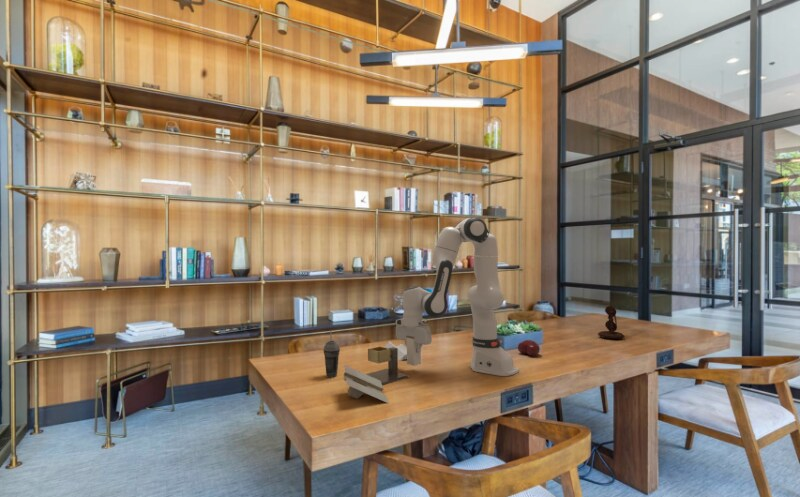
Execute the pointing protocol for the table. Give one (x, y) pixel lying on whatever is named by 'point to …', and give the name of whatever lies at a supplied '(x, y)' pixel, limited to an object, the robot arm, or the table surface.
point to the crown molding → (399, 350)
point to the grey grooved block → (363, 384)
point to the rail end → (412, 352)
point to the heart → (529, 347)
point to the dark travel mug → (331, 358)
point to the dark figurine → (611, 325)
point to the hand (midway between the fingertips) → (413, 351)
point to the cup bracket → (391, 356)
